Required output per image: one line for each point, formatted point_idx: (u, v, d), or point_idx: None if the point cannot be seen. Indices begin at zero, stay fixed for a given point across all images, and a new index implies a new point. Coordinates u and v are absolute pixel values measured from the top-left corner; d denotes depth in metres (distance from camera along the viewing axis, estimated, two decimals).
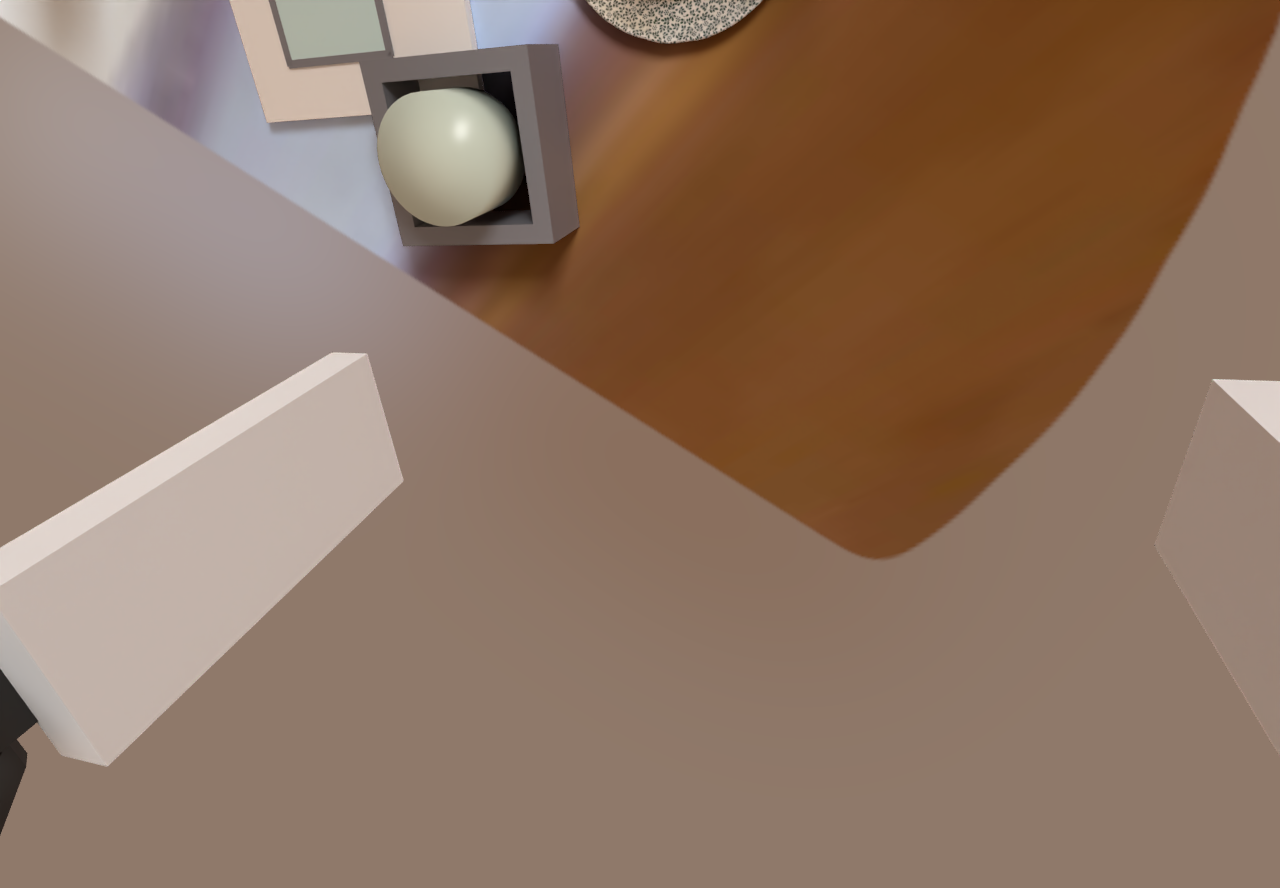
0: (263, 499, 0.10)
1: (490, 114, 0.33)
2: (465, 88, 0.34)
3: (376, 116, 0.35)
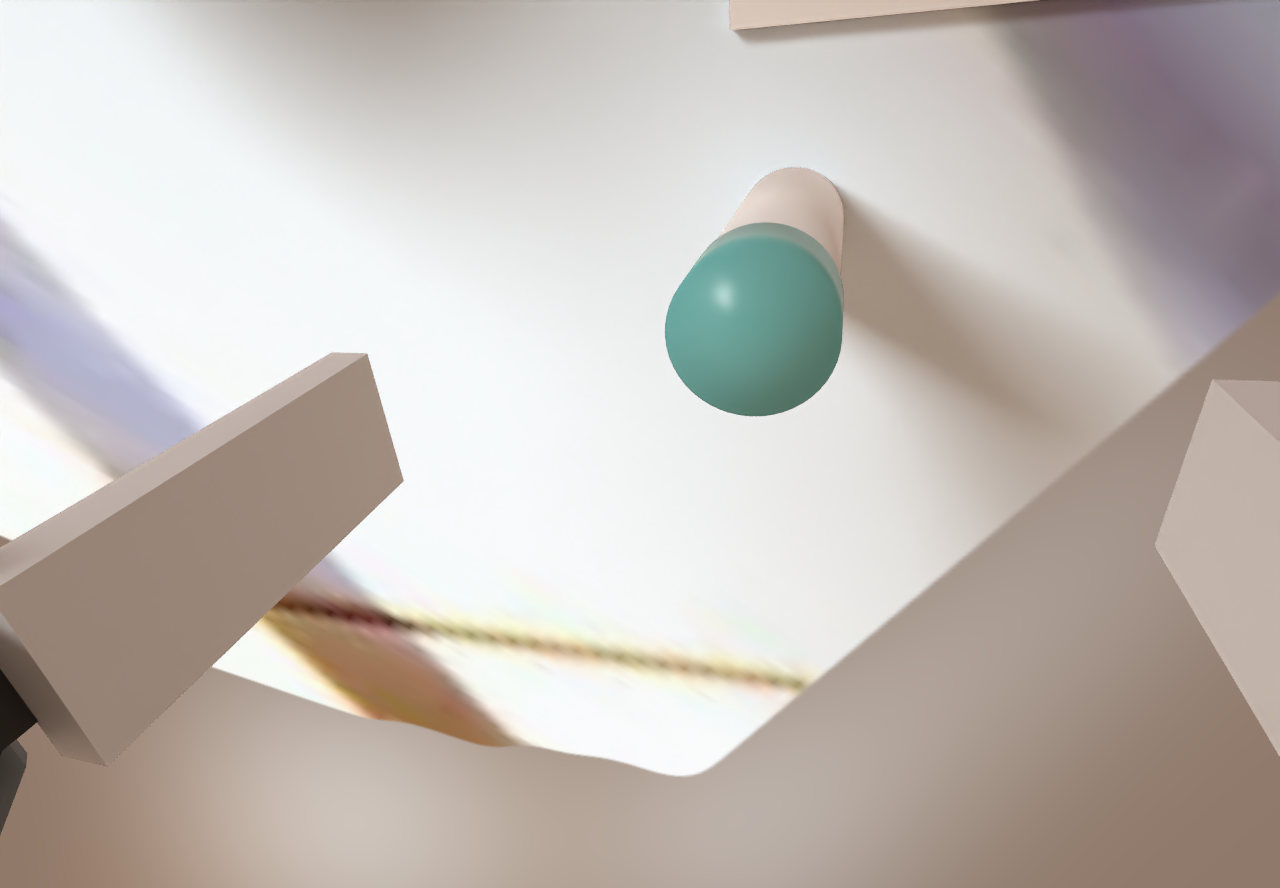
0: (263, 499, 0.10)
1: None
2: None
3: None
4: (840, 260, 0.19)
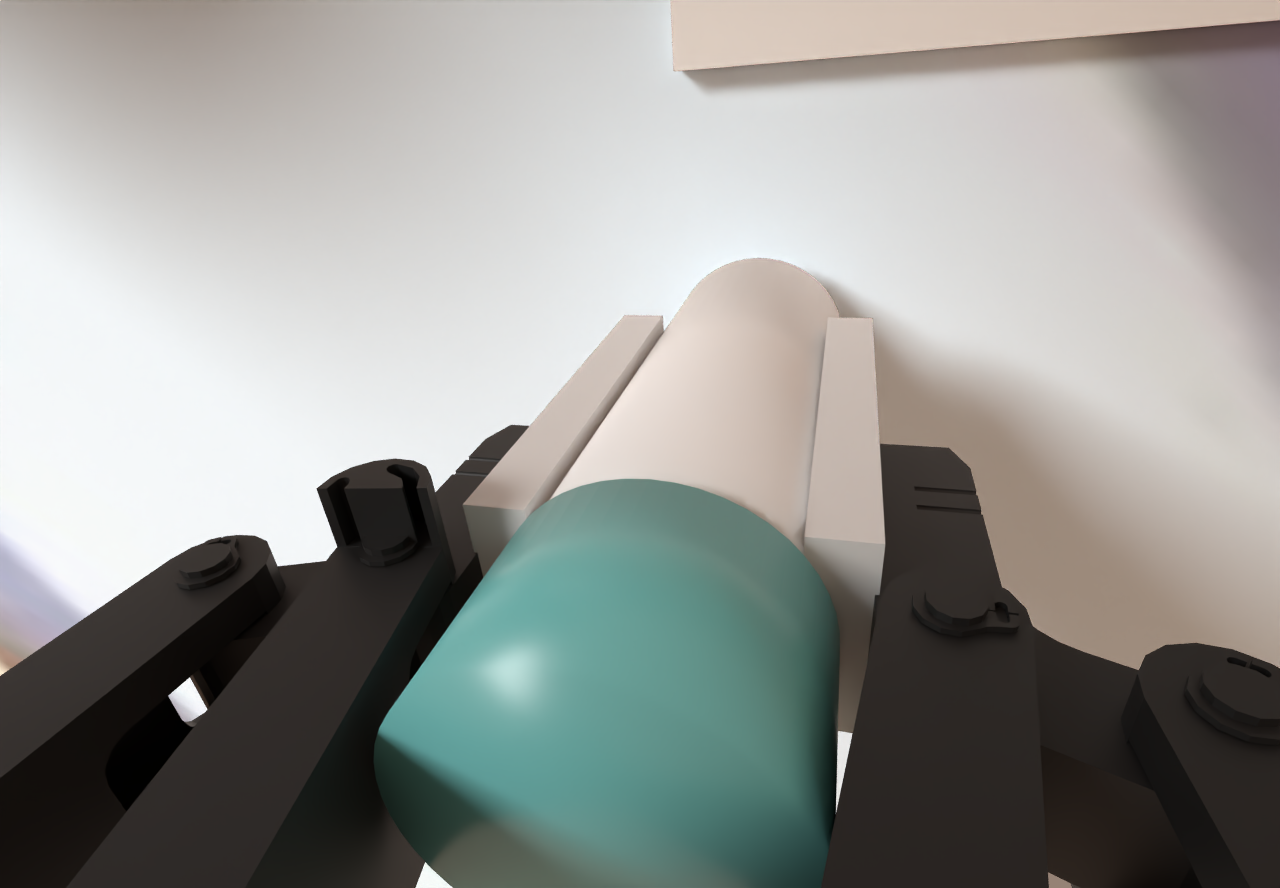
0: None
1: None
2: None
3: None
4: None
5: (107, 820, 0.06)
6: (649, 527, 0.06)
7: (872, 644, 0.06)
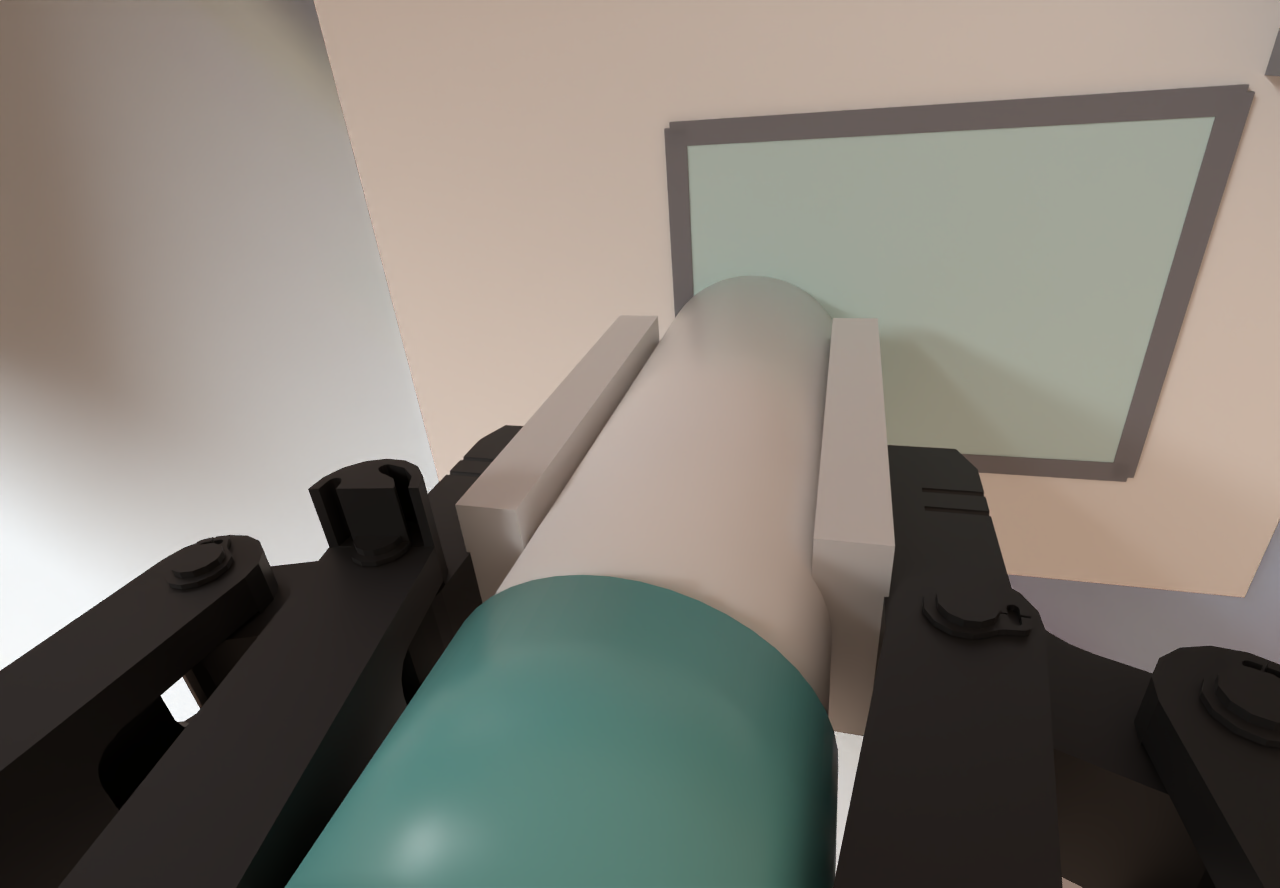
0: None
1: None
2: None
3: None
4: None
5: (100, 819, 0.06)
6: (604, 649, 0.05)
7: (883, 646, 0.06)
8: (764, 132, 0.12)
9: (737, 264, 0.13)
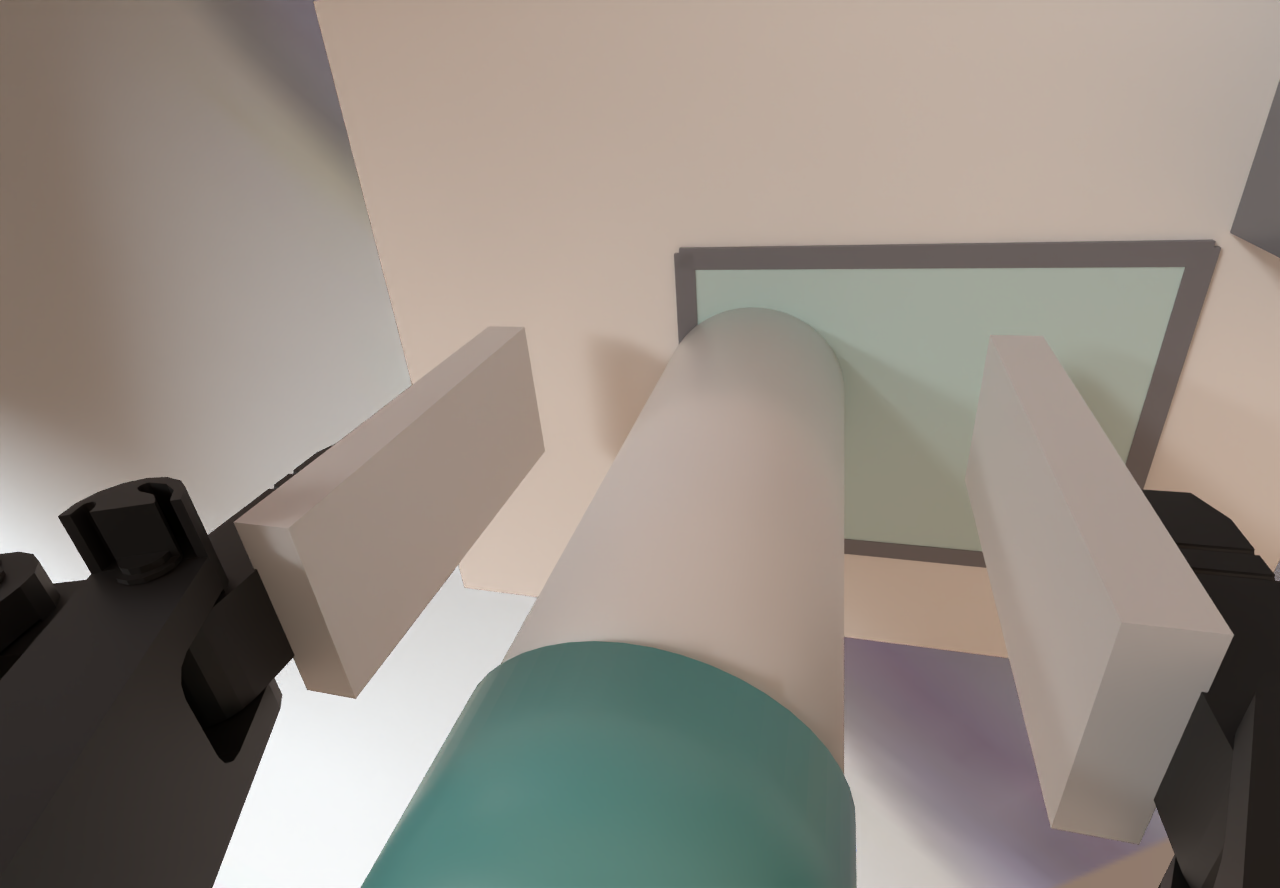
0: (456, 459, 0.11)
1: None
2: None
3: None
4: (843, 614, 0.08)
5: None
6: (653, 732, 0.05)
7: (1252, 753, 0.05)
8: (767, 261, 0.13)
9: None
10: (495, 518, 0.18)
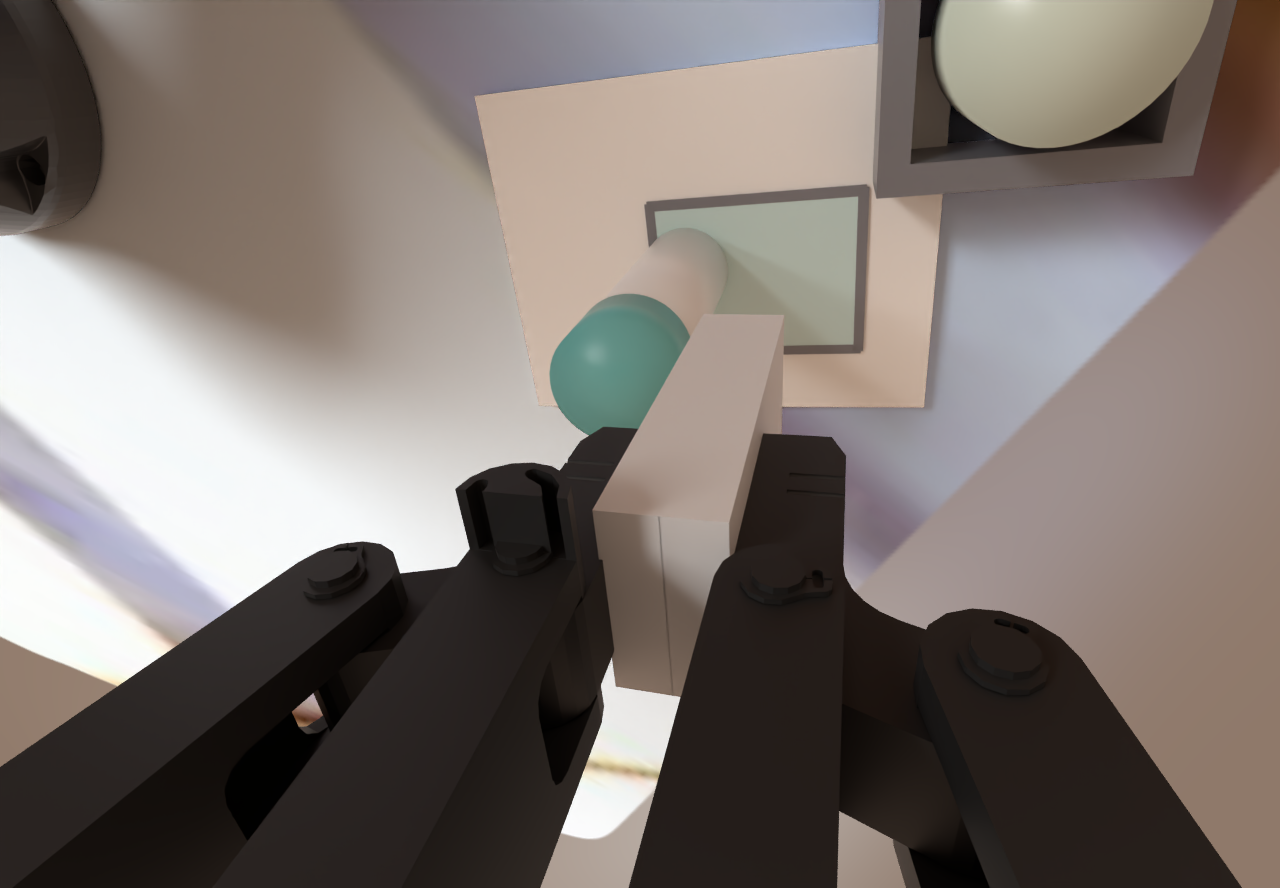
0: None
1: None
2: (937, 14, 0.21)
3: (957, 184, 0.22)
4: None
5: (224, 839, 0.06)
6: (632, 302, 0.20)
7: (703, 620, 0.06)
8: (686, 205, 0.28)
9: None
10: None
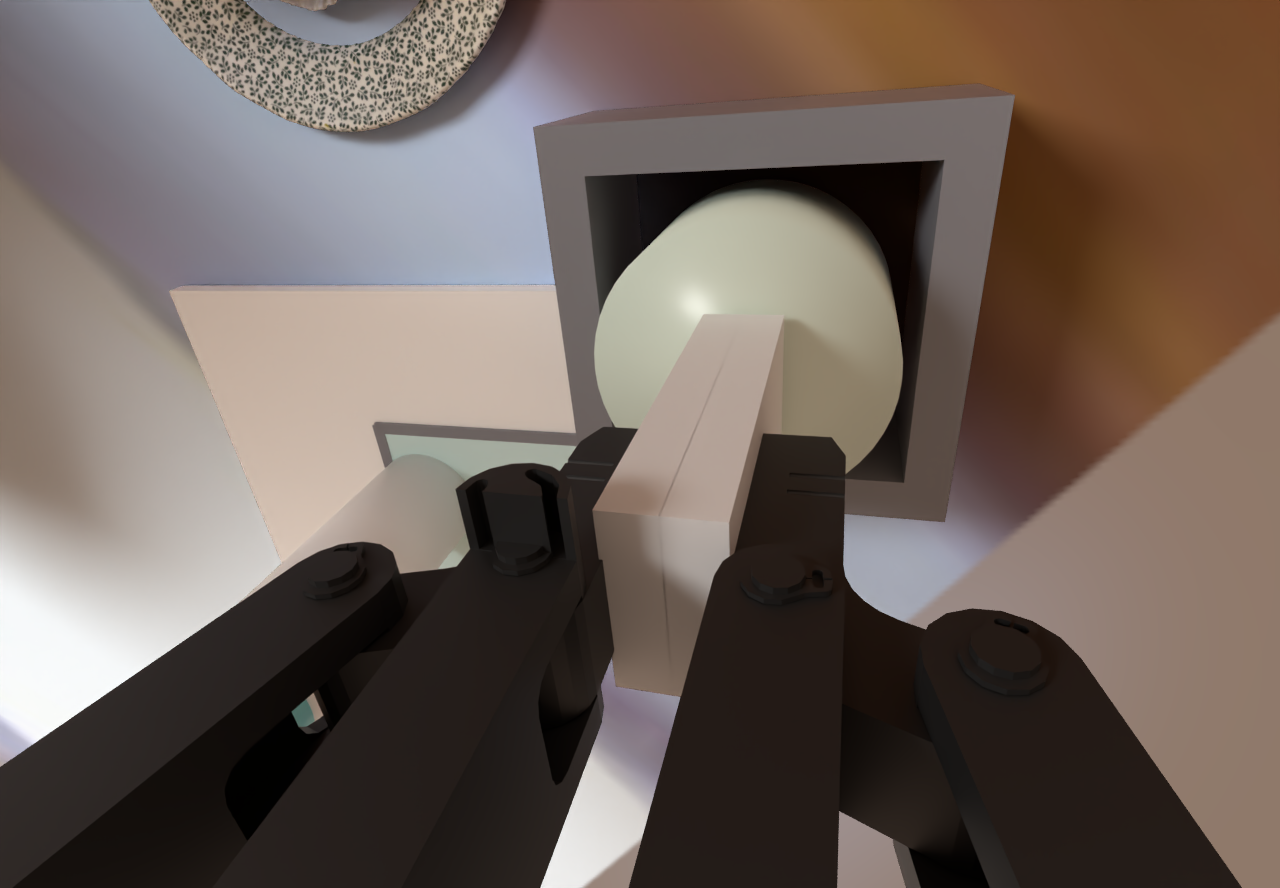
0: None
1: (666, 228, 0.14)
2: None
3: None
4: None
5: (224, 840, 0.06)
6: None
7: (703, 620, 0.06)
8: (418, 432, 0.23)
9: None
10: None
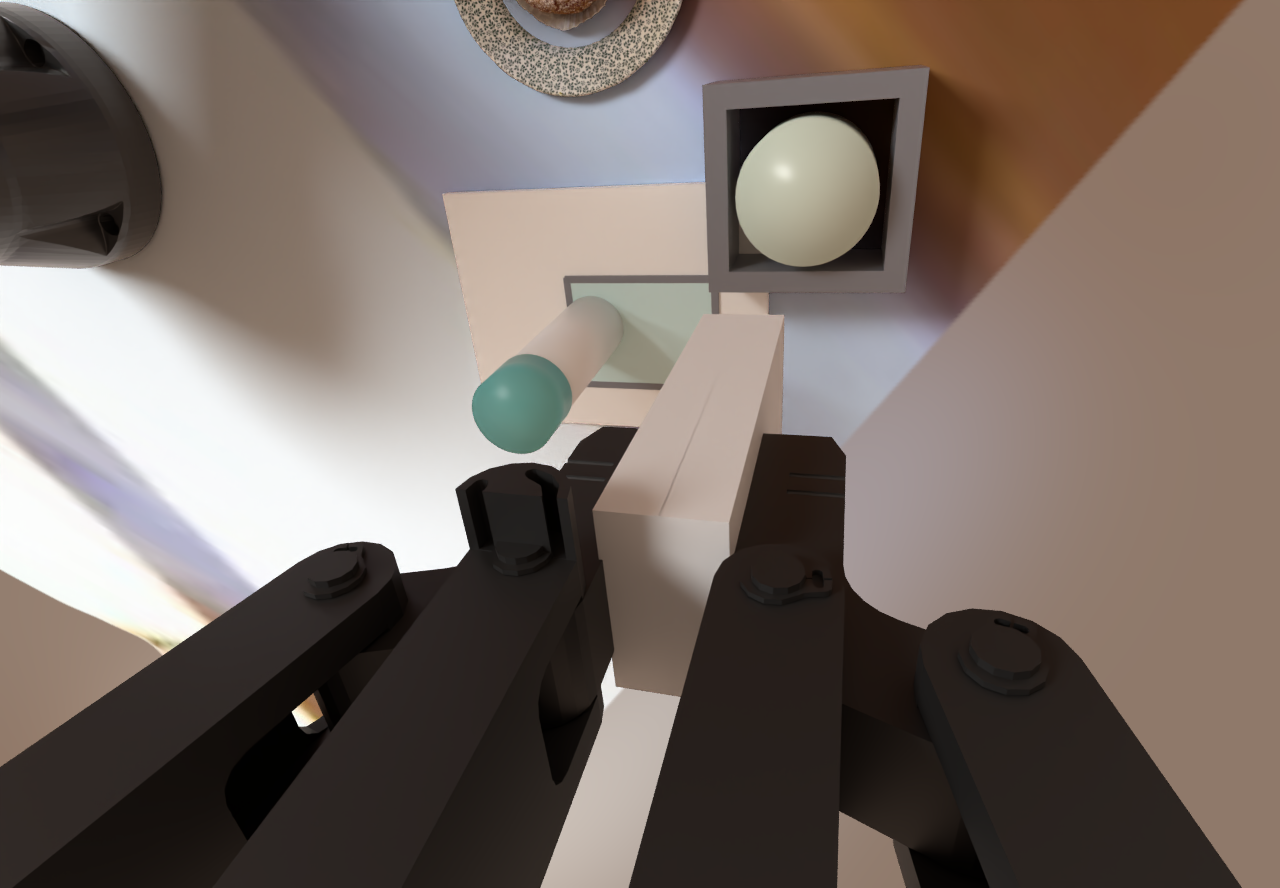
0: None
1: (769, 132, 0.30)
2: None
3: (760, 287, 0.33)
4: (587, 368, 0.34)
5: (225, 839, 0.06)
6: (528, 361, 0.31)
7: (702, 620, 0.06)
8: (592, 280, 0.39)
9: None
10: None
